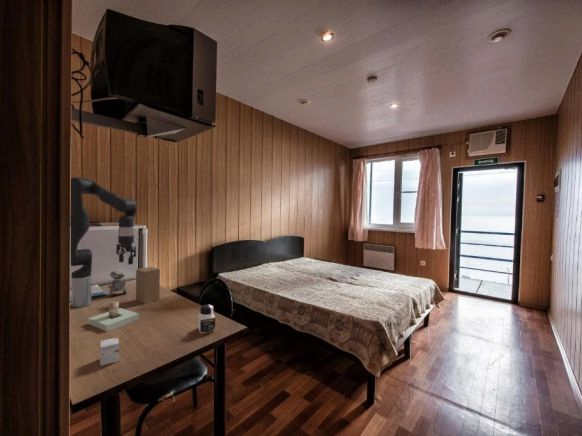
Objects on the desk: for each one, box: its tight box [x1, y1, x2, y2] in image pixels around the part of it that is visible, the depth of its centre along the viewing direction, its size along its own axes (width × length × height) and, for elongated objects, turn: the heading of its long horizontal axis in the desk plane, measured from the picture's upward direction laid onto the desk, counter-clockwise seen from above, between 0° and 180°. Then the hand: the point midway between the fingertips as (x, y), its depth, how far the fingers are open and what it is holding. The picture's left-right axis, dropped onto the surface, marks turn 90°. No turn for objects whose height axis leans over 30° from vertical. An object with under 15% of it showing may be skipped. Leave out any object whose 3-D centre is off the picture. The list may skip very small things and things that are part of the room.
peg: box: [108, 300, 120, 319], centre depth 138 cm, size 4×4×10 cm
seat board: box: [87, 307, 140, 332], centre depth 138 cm, size 16×16×3 cm
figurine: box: [107, 270, 127, 297], centre depth 179 cm, size 9×12×15 cm
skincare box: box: [99, 336, 120, 367], centre depth 105 cm, size 6×6×7 cm
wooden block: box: [135, 266, 161, 305], centre depth 170 cm, size 10×10×20 cm
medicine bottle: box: [197, 304, 216, 335], centre depth 133 cm, size 7×7×12 cm
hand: (125, 263), depth 151 cm, fingers open, 8 cm apart
